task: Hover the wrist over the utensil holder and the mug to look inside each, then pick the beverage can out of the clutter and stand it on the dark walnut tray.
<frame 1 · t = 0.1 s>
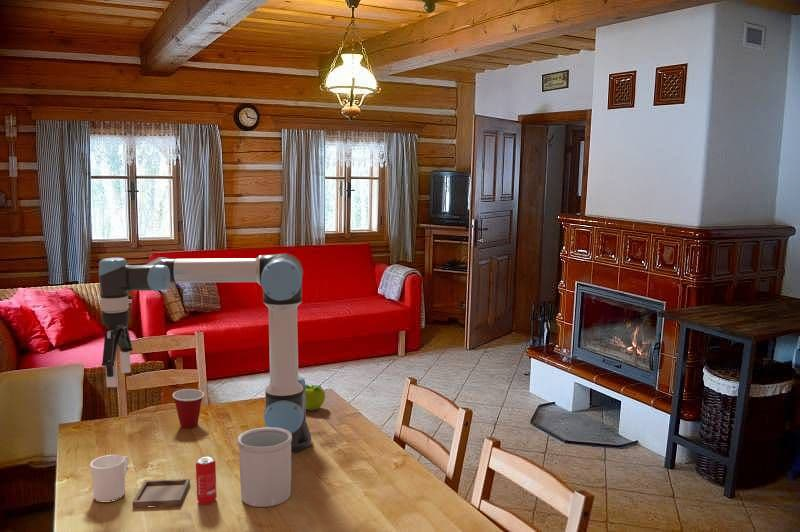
hand: (119, 379, 205), 28 cm above the table, fingers open, 13 cm apart
utensil holder: (266, 496, 192), on the table
plastic cup: (189, 426, 242), on the table
tray: (162, 495, 191), on the table
mug: (113, 495, 192), on the table
fruit: (312, 409, 259), on the table
beverage can: (207, 501, 189), on the table
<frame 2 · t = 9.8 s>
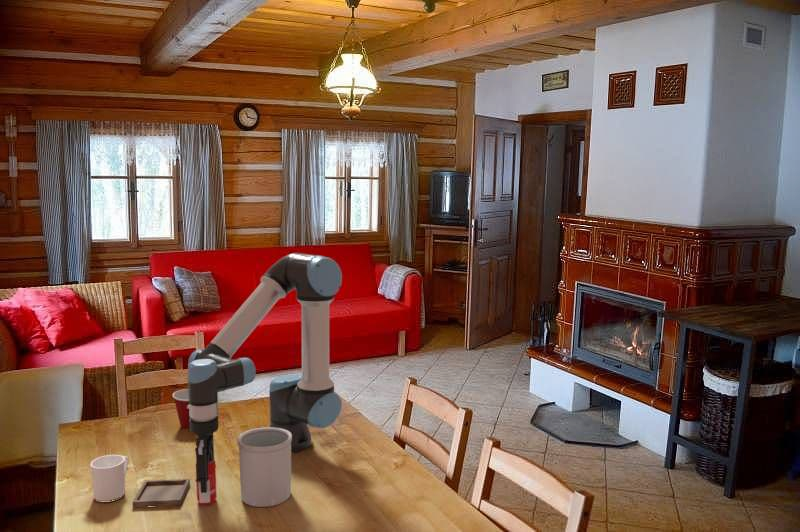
hand: (206, 496, 189), 1 cm above the table, fingers closed on beverage can, 5 cm apart
beverage can: (207, 501, 189), on the table, touching gripper
everything else where it was.
when the fingers open (4 cm above the table, at t = 14.4 s): beverage can drops 1 cm, resting on tray.
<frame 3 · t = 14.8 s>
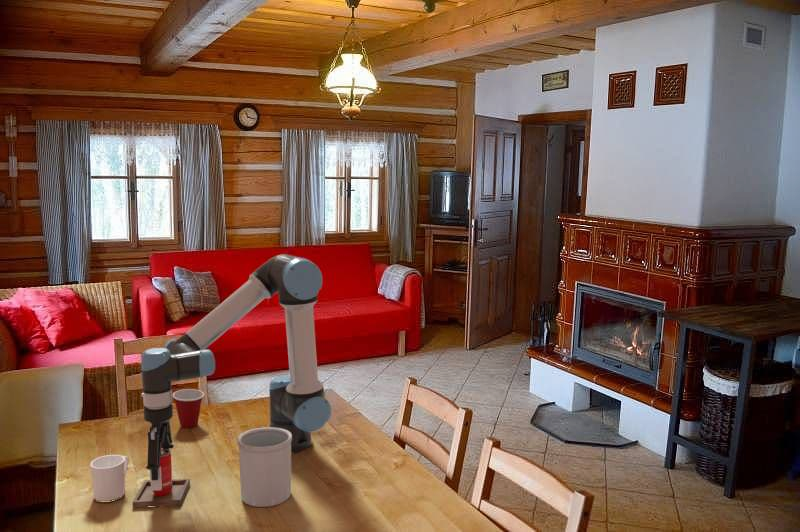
hand: (161, 480, 191), 5 cm above the table, fingers open, 10 cm apart
beverage can: (162, 493, 192), point 1 cm above the table, touching tray
everything else where it was.
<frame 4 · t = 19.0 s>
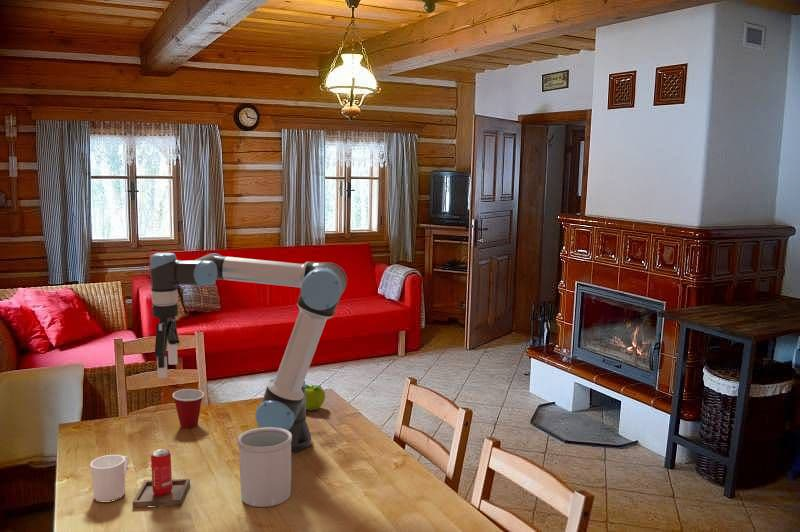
hand: (168, 370, 211), 29 cm above the table, fingers open, 13 cm apart
nothing on the table moved.
at the end: beverage can inside the target area on the tray (0.2 cm from its centre), point 0.6 cm above the tray's base; beverage can touching tray; beverage can tilted 0° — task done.
